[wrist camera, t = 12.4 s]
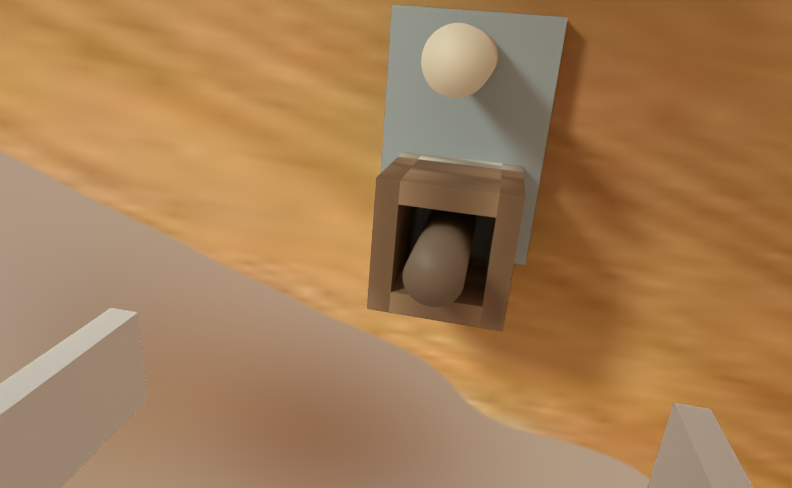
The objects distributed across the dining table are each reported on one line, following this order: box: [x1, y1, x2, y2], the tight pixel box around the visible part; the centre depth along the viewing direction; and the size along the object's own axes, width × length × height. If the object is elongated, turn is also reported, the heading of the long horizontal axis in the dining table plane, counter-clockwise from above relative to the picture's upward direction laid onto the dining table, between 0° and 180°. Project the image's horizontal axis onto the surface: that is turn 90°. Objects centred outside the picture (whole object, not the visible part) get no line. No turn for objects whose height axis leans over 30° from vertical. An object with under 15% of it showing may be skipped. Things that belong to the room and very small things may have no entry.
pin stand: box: [381, 5, 568, 307], centre depth 24 cm, size 8×12×9 cm, turn 176°
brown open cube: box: [367, 152, 526, 331], centre depth 26 cm, size 6×6×6 cm
